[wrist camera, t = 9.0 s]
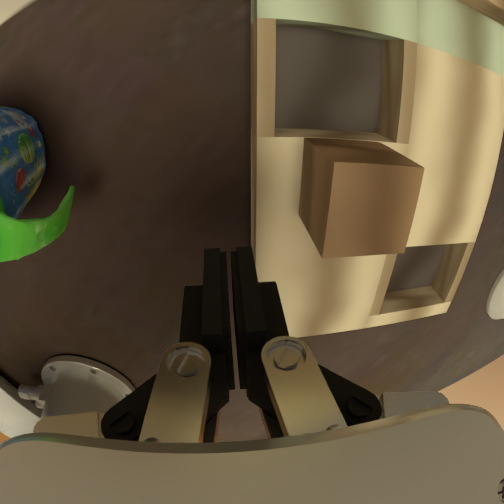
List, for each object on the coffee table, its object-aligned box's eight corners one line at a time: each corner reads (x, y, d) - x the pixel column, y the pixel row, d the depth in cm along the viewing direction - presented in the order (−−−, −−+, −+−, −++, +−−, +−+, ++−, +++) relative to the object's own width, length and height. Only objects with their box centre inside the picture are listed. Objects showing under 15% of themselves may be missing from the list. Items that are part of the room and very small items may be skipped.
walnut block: (298, 214, 20) (322, 258, 16) (303, 137, 17) (334, 162, 13) (368, 213, 20) (404, 253, 16) (379, 142, 18) (424, 167, 13)
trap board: (251, 317, 28) (259, 369, 23) (250, -46, 13) (265, -83, 8) (432, 294, 30) (460, 331, 25) (485, 18, 15) (536, 22, 10)
